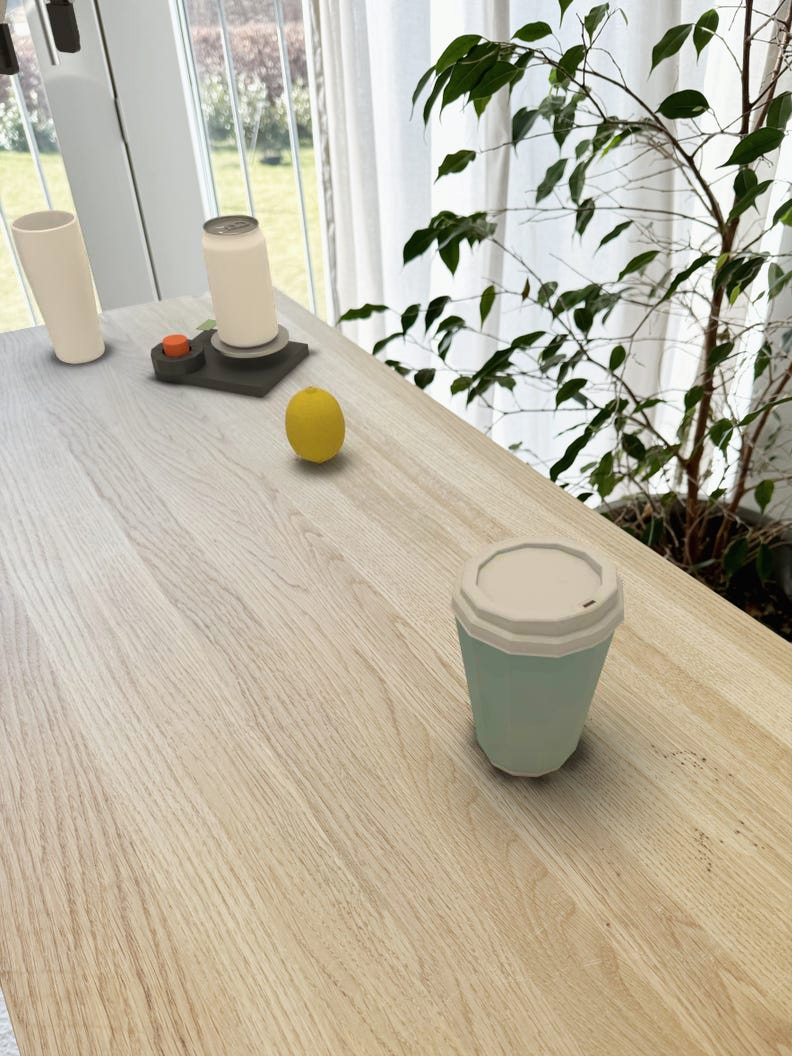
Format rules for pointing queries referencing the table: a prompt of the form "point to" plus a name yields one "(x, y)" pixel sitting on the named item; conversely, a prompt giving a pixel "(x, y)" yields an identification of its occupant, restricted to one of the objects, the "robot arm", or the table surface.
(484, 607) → the disposable coffee cup
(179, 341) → the tare button
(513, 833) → the table surface
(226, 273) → the can
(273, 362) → the scale
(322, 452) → the lemon
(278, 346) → the weighing pan
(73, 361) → the drinking glass
